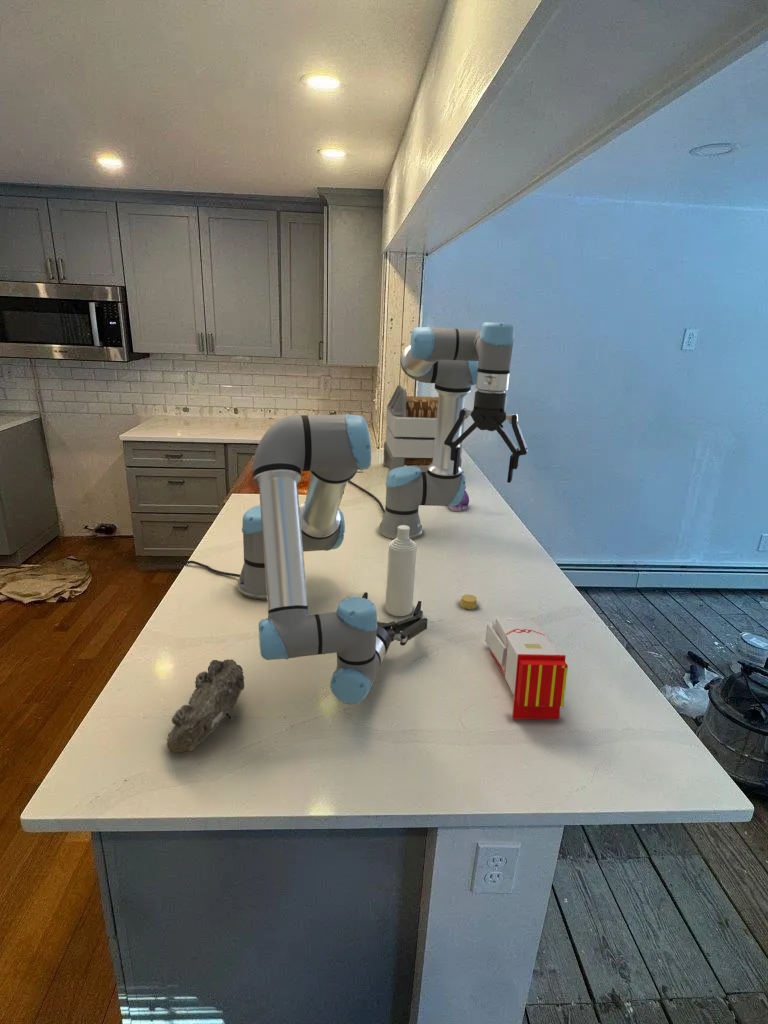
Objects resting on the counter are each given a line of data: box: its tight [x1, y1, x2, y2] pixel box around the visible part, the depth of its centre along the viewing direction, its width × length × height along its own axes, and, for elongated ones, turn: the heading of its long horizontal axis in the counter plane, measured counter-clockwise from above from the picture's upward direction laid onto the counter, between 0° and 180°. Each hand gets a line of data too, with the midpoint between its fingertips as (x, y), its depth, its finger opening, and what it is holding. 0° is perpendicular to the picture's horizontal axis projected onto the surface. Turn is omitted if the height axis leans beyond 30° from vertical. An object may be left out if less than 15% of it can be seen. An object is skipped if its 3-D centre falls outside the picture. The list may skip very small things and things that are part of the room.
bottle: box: [385, 525, 417, 617], centre depth 146 cm, size 7×7×23 cm
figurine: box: [448, 470, 470, 512], centre depth 226 cm, size 9×10×15 cm
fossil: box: [166, 658, 245, 754], centre depth 106 cm, size 22×10×15 cm
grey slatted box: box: [383, 384, 466, 471], centre depth 268 cm, size 34×33×41 cm
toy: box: [484, 617, 569, 720], centre depth 122 cm, size 12×13×30 cm
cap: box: [460, 593, 478, 610], centre depth 153 cm, size 4×4×2 cm
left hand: (392, 601), depth 140 cm, fingers open, 13 cm apart
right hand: (482, 477), depth 141 cm, fingers open, 13 cm apart
